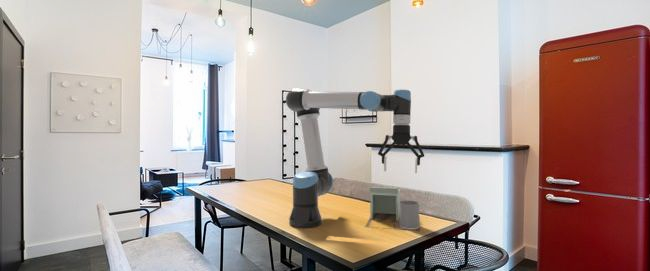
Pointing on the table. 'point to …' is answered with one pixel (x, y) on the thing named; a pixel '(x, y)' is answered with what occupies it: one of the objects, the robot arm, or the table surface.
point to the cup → (409, 214)
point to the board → (389, 218)
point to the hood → (384, 201)
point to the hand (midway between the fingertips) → (400, 171)
